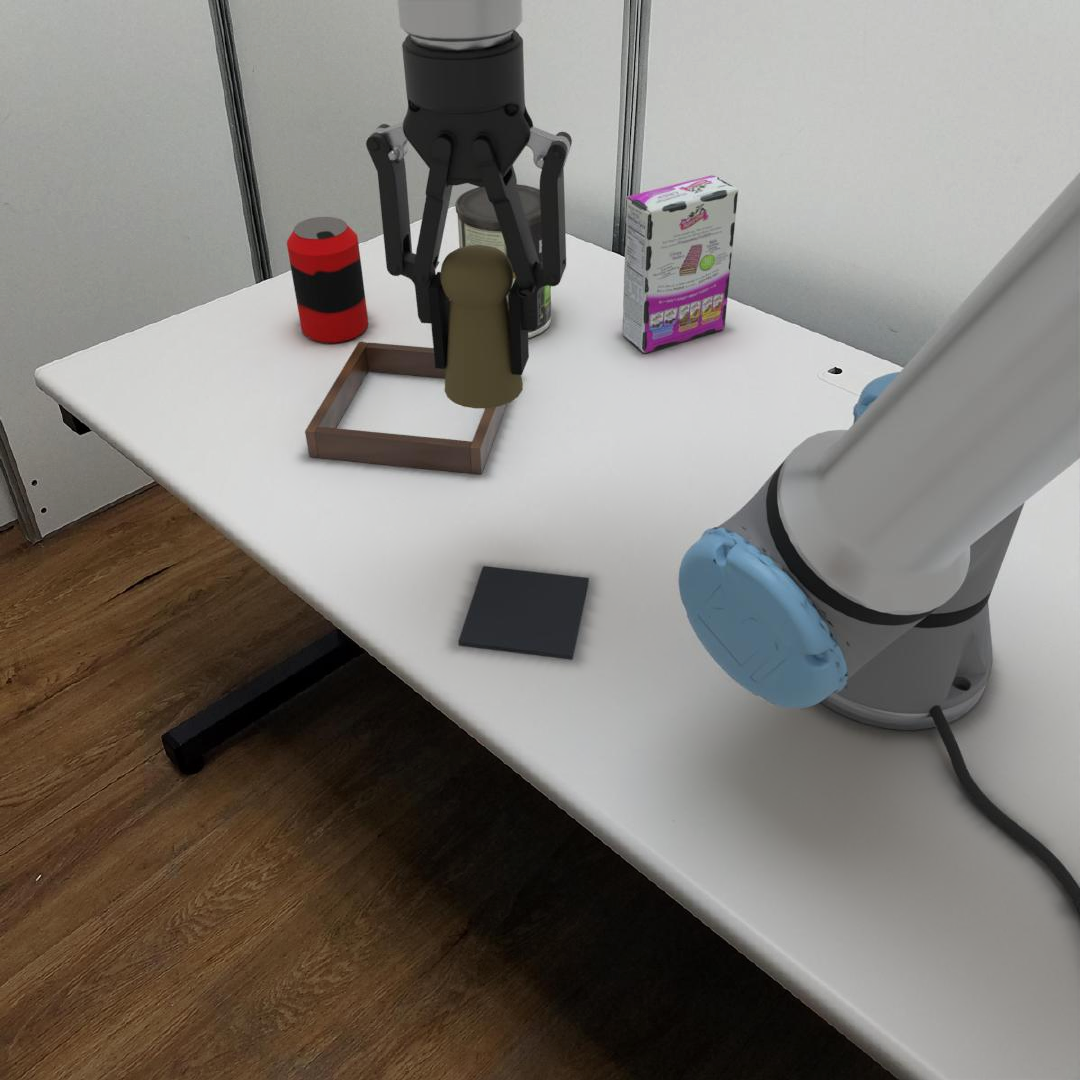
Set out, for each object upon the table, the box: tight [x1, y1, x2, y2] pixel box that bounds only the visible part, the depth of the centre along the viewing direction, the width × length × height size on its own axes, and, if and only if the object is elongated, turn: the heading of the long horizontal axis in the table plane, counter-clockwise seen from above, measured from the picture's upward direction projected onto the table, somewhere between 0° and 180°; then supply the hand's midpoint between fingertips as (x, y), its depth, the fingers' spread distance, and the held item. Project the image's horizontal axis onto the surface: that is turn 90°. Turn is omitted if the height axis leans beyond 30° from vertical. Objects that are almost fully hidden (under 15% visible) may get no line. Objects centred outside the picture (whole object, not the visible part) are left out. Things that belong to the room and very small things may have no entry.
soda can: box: [286, 216, 369, 344], centre depth 118 cm, size 8×8×12 cm
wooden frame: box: [304, 341, 508, 475], centre depth 107 cm, size 17×17×3 cm
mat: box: [458, 565, 589, 660], centre depth 86 cm, size 9×9×1 cm
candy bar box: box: [622, 174, 739, 354], centre depth 115 cm, size 11×5×16 cm, turn 119°
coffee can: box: [454, 183, 553, 339], centre depth 118 cm, size 10×10×14 cm
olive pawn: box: [440, 245, 524, 409], centre depth 78 cm, size 6×6×11 cm
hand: (482, 361), depth 80 cm, fingers closed on olive pawn, 5 cm apart
